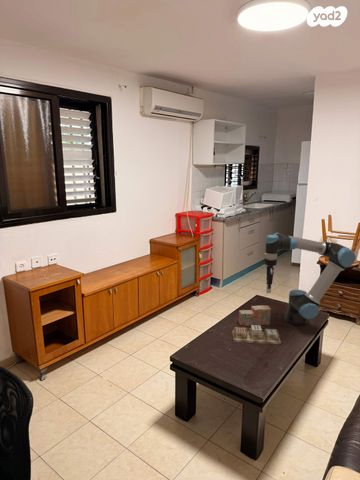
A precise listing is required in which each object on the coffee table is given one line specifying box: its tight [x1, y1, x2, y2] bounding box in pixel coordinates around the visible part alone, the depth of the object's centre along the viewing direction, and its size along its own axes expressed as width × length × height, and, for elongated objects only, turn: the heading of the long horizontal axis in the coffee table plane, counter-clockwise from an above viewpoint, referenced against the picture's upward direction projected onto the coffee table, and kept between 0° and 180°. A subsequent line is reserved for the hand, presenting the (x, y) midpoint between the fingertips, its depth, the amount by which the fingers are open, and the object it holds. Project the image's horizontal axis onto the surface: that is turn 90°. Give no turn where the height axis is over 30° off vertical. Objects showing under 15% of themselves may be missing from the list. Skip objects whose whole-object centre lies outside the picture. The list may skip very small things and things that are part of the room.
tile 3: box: [236, 327, 246, 333], centre depth 215 cm, size 6×6×4 cm
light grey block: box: [265, 328, 277, 335], centre depth 213 cm, size 6×6×4 cm
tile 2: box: [250, 325, 263, 334], centre depth 214 cm, size 6×6×4 cm
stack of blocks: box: [238, 305, 272, 327], centre depth 234 cm, size 21×6×12 cm, turn 96°
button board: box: [231, 326, 282, 345], centre depth 214 cm, size 30×12×5 cm, turn 84°
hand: (268, 292), depth 217 cm, fingers closed
